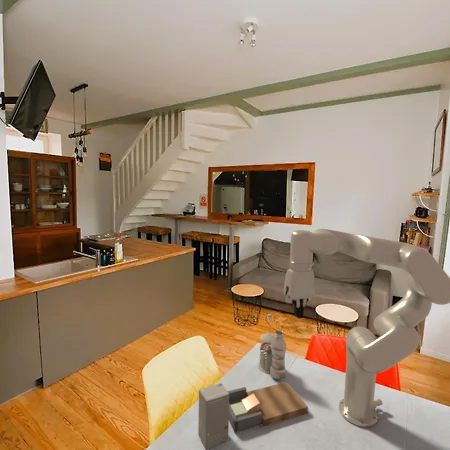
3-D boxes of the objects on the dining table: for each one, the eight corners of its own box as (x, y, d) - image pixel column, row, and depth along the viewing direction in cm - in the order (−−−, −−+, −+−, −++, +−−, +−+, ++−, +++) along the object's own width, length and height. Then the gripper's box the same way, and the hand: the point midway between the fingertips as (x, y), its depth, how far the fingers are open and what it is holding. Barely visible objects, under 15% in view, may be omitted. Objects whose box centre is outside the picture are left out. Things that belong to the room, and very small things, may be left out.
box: (244, 396, 109) (245, 386, 109) (261, 424, 96) (262, 413, 96) (220, 402, 106) (220, 392, 105) (234, 432, 93) (234, 421, 92)
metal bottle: (281, 384, 116) (283, 338, 114) (266, 377, 120) (268, 333, 118) (288, 376, 121) (289, 332, 119) (273, 370, 125) (275, 327, 123)
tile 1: (241, 408, 102) (242, 401, 102) (247, 418, 98) (247, 412, 97) (229, 411, 101) (229, 405, 100) (234, 422, 96) (234, 415, 96)
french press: (281, 363, 130) (283, 311, 127) (275, 378, 120) (277, 322, 117) (260, 358, 134) (262, 308, 131) (253, 372, 124) (254, 318, 121)
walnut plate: (286, 387, 114) (286, 381, 114) (307, 413, 101) (308, 406, 101) (245, 398, 108) (246, 392, 108) (263, 426, 95) (263, 420, 95)
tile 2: (255, 398, 104) (253, 393, 103) (261, 408, 99) (259, 402, 99) (243, 405, 102) (241, 400, 102) (249, 416, 98) (247, 410, 97)
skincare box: (205, 450, 86) (206, 403, 84) (197, 433, 92) (197, 388, 90) (230, 440, 90) (230, 394, 88) (220, 423, 96) (220, 380, 94)
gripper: (311, 262, 104) (309, 309, 106) (276, 265, 98) (274, 315, 101) (325, 267, 97) (322, 318, 99) (288, 271, 91) (286, 324, 94)
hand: (298, 316), depth 100 cm, fingers closed
